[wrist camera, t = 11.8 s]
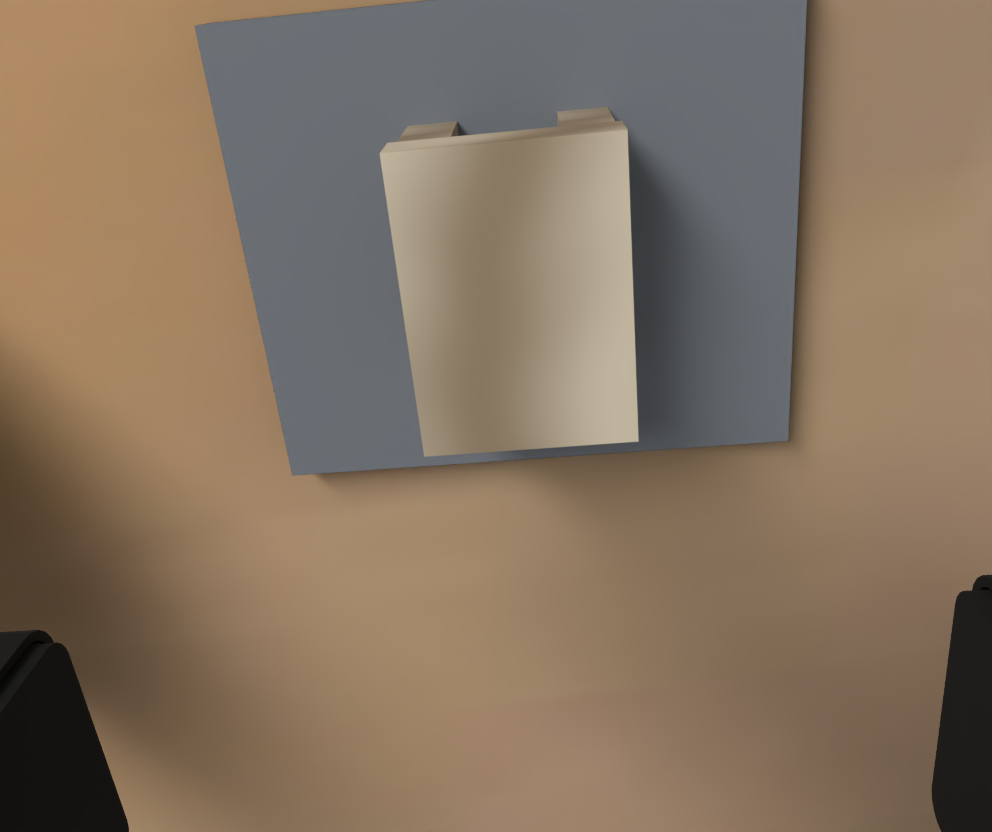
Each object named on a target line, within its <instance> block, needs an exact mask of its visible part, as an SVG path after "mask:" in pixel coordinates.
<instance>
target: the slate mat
mask: <svg viewBox="0 0 992 832" xmlns="http://www.w3.org/2000/svg"><path fill="white" fill-rule="evenodd" d="M806 13H807V0H426V1H416V2H406V3H397V4H387V5H378V6H368V7H359V8H349V9H339V10H330V11H320V12H311V13H301V14H292V15H282V16H272V17H263V18H253V19H244V20H234V21H225V22H215V23H207V24H202V25H197V26H195V30H196V35H197V39H198V44H199V49H200V53H201V58H202V62H203V67H204V72H205V76H206V81H207V85H208V90H209V94H210V99H211V104H212V108H213V113H214V117H215V122H216V127H217V131H218V136H219V140H220V145H221V150H222V154H223V159H224V163H225V168H226V173H227V177H228V182H229V186H230V191H231V196H232V200H233V205H234V209H235V214H236V219H237V223H238V228H239V232H240V237H241V242H242V246H243V251H244V255H245V260H246V265H247V269H248V274H249V278H250V283H251V288H252V292H253V297H254V301H255V306H256V311H257V315H258V320H259V324H260V329H261V334H262V338H263V343H264V347H265V352H266V356H267V361H268V366H269V370H270V375H271V379H272V384H273V389H274V393H275V398H276V402H277V407H278V412H279V416H280V421H281V425H282V430H283V435H284V439H285V444H286V448H287V453H288V458H289V462H290V467H291V471H292V475H305V474H320V473H334V472H349V471H363V470H377V469H392V468H406V467H420V466H435V465H449V464H464V463H478V462H492V461H507V460H521V459H535V458H550V457H564V456H579V455H593V454H607V453H622V452H636V451H650V450H665V449H679V448H694V447H708V446H722V445H737V444H751V443H765V442H780V441H788V433H789V410H790V387H791V363H792V340H793V316H794V293H795V270H796V246H797V223H798V200H799V176H800V153H801V130H802V106H803V83H804V60H805V36H806ZM601 107H608V108H609V110H610V112H611V114H612V116H613V118H614V120H615V121H623V123H624V125H625V126H626V128H627V130H628V156H629V184H630V213H631V241H632V269H633V297H634V326H635V354H636V382H637V410H638V439H639V442H625V443H611V444H597V445H582V446H568V447H554V448H540V449H526V450H512V451H498V452H484V453H470V454H455V455H441V456H427V457H424V452H423V445H422V438H421V431H420V424H419V418H418V411H417V404H416V397H415V391H414V384H413V377H412V370H411V363H410V357H409V350H408V343H407V336H406V329H405V323H404V316H403V309H402V302H401V296H400V289H399V282H398V275H397V268H396V262H395V255H394V248H393V241H392V235H391V228H390V221H389V214H388V207H387V201H386V194H385V187H384V180H383V173H382V167H381V160H380V152H381V151H382V149H383V148H384V147H385V145H386V144H387V143H390V142H397V141H398V139H399V138H400V136H401V135H402V134H403V132H404V131H405V129H406V128H407V127H408V126H414V125H424V124H434V123H445V122H455V121H457V123H458V132H459V136H464V135H475V134H485V133H496V132H506V131H517V130H528V129H538V128H549V127H558V116H557V112H559V111H570V110H580V109H591V108H601Z"/></svg>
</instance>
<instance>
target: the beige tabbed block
mask: <svg viewBox="0 0 992 832" xmlns="http://www.w3.org/2000/svg"><path fill="white" fill-rule="evenodd" d="M557 116H558V127H549V128H538V129H528V130H517V131H506V132H496V133H485V134H475V135H464V136H459V132H458V123H457V121H455V122H445V123H434V124H424V125H414V126H408V127H407V128H406V129H405V131H404V132H403V134H402V135H401V136H400V138H399V139H398V141H397V142H390V143H387V144H386V145H385V147H384V148H383V149H382V151H381V152H380V160H381V167H382V173H383V180H384V187H385V194H386V201H387V207H388V214H389V221H390V228H391V235H392V241H393V248H394V255H395V262H396V268H397V275H398V282H399V289H400V296H401V302H402V309H403V316H404V323H405V329H406V336H407V343H408V350H409V357H410V363H411V370H412V377H413V384H414V391H415V397H416V404H417V411H418V418H419V424H420V431H421V438H422V445H423V452H424V457H427V456H441V455H455V454H470V453H484V452H498V451H512V450H526V449H540V448H554V447H568V446H582V445H597V444H611V443H625V442H639V439H638V410H637V382H636V354H635V326H634V297H633V269H632V241H631V213H630V184H629V156H628V130H627V128H626V126H625V125H624V123H623V121H615V120H614V118H613V116H612V114H611V112H610V110H609V108H608V107H601V108H591V109H580V110H570V111H559V112H557Z"/></svg>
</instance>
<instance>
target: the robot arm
mask: <svg viewBox="0 0 992 832" xmlns="http://www.w3.org/2000/svg"><path fill="white" fill-rule="evenodd" d="M932 801H933V807H934V812H935V816H936V819H937V822H938V825H939V827H940V829H941V832H992V575H982V576H980V577H978V578H977V579H976V581H975V583H974V585H973V589H972V591H962V592H960V593H959V595H958V596H957V599H956V603H955V610H954V618H953V626H952V633H951V641H950V649H949V657H948V665H947V673H946V681H945V688H944V696H943V704H942V712H941V720H940V728H939V736H938V743H937V751H936V759H935V767H934V775H933V783H932ZM0 832H129V826H128V822H127V819H126V816H125V813H124V810H123V807H122V804H121V801H120V799H119V796H118V793H117V790H116V787H115V784H114V781H113V779H112V776H111V773H110V770H109V767H108V764H107V761H106V759H105V756H104V753H103V750H102V747H101V744H100V741H99V739H98V736H97V733H96V730H95V727H94V724H93V721H92V719H91V716H90V713H89V710H88V707H87V704H86V701H85V699H84V696H83V693H82V690H81V687H80V684H79V681H78V679H77V676H76V673H75V670H74V667H73V664H72V661H71V659H70V656H69V653H68V651H67V649H66V647H64V646H63V645H62V644H60V643H54V642H53V640H52V638H51V637H50V636H49V635H48V634H47V633H46V632H44V631H40V630H31V631H14V632H0Z"/></svg>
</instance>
